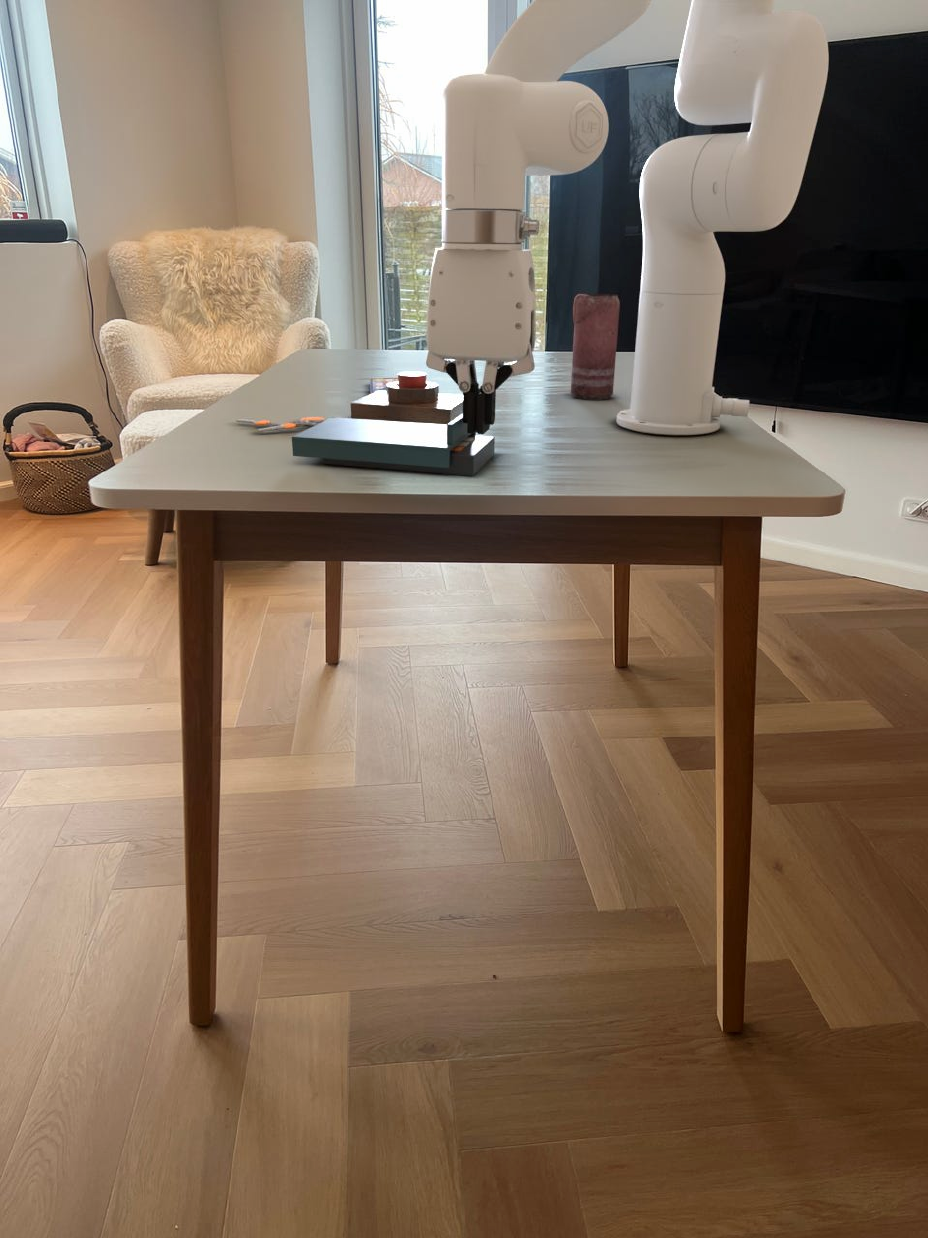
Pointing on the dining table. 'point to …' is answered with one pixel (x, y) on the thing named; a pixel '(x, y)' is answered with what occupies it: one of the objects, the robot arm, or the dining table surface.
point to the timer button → (412, 379)
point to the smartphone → (380, 383)
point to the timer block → (409, 405)
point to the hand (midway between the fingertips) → (478, 430)
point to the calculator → (462, 458)
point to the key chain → (304, 421)
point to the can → (594, 345)
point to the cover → (381, 441)
